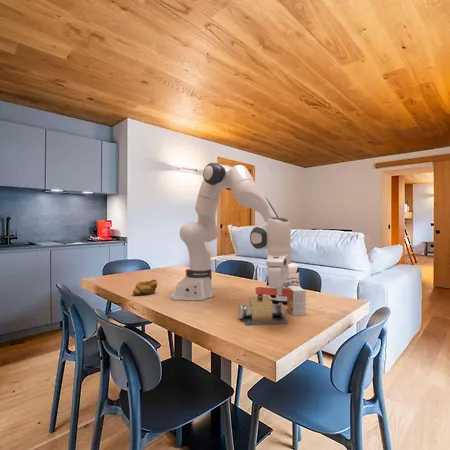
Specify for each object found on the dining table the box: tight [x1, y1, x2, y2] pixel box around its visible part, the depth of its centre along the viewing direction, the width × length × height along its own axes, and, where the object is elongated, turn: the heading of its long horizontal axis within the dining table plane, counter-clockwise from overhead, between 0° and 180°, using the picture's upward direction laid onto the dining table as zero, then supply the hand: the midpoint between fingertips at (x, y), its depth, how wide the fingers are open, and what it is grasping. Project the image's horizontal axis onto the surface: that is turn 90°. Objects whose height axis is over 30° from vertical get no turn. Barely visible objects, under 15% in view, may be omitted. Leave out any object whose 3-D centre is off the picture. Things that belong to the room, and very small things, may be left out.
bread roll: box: [132, 279, 158, 296], centre depth 153 cm, size 13×10×8 cm
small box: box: [286, 286, 307, 316], centre depth 120 cm, size 8×6×10 cm
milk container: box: [265, 262, 301, 304], centre depth 138 cm, size 17×17×18 cm
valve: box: [238, 294, 288, 326], centre depth 112 cm, size 18×12×10 cm
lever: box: [254, 286, 291, 297], centre depth 111 cm, size 14×4×3 cm, turn 74°
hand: (279, 294), depth 108 cm, fingers closed
